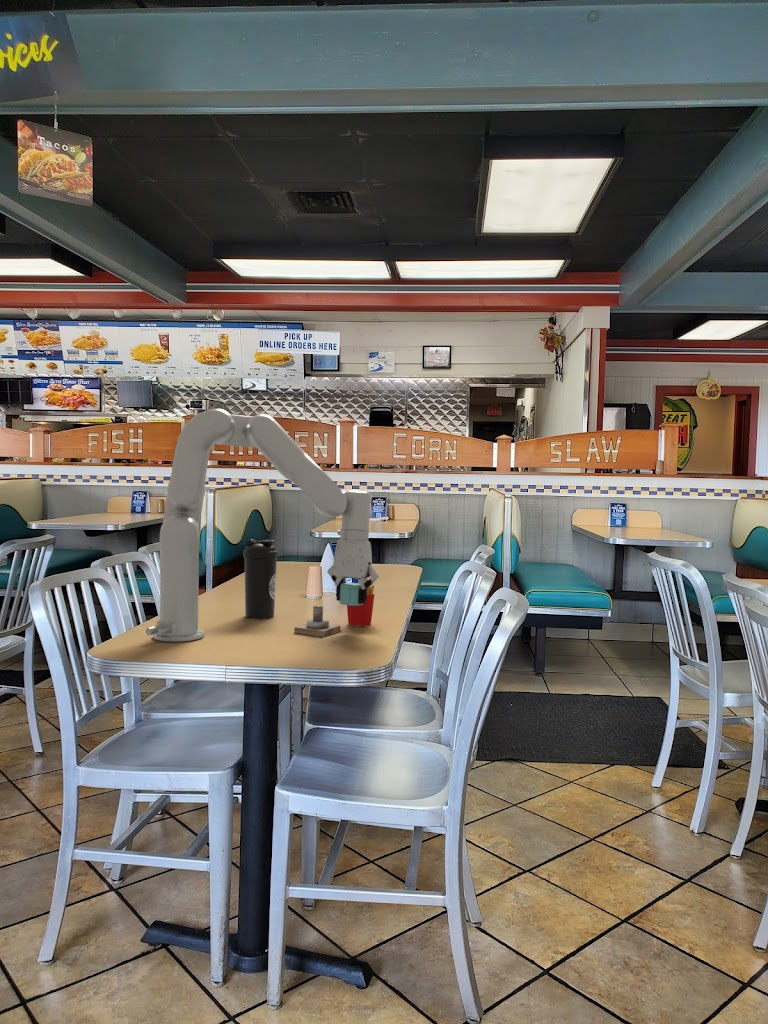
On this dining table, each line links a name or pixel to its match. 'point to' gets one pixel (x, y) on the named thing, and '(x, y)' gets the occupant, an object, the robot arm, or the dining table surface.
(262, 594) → the water bottle
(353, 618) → the french fries
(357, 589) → the cap
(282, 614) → the dining table surface
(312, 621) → the post stand
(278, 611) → the dining table surface
